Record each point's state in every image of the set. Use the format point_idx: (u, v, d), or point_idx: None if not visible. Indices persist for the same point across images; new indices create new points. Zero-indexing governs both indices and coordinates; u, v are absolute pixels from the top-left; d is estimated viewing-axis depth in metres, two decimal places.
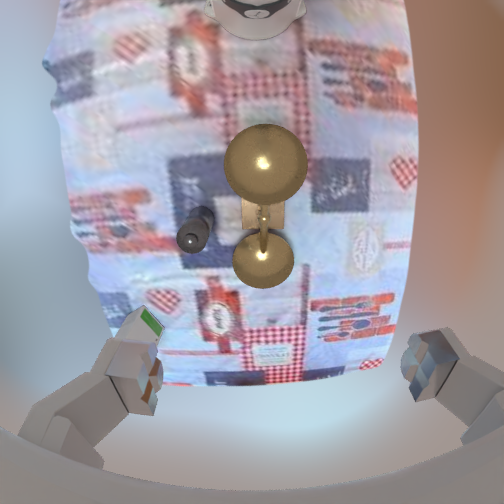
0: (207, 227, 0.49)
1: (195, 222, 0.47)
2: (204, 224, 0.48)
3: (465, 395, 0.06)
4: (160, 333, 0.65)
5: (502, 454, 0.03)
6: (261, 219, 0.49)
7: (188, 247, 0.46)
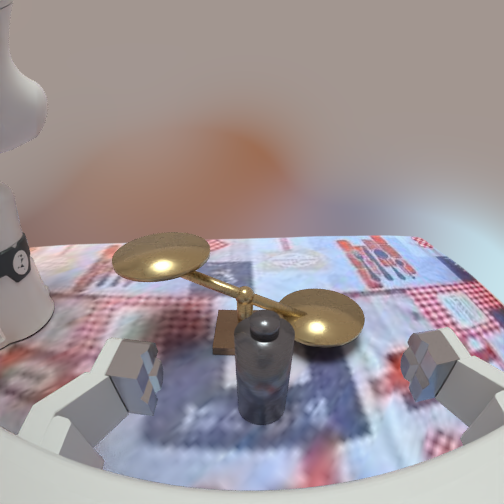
0: None
1: None
2: None
3: (465, 395, 0.06)
4: None
5: (502, 454, 0.03)
6: (243, 290, 0.35)
7: (275, 320, 0.22)
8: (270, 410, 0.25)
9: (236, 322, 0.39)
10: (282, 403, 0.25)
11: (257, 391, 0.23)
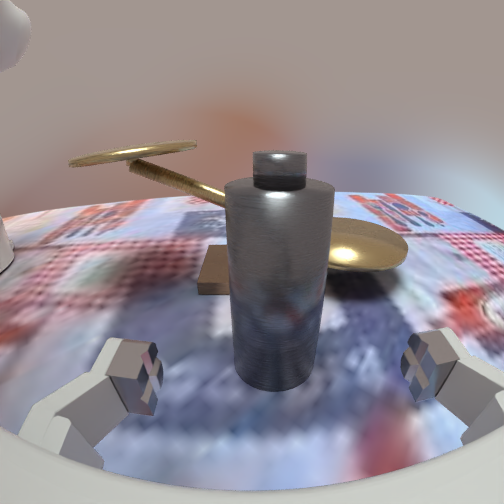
0: None
1: None
2: None
3: (465, 395, 0.06)
4: None
5: (502, 454, 0.03)
6: None
7: (298, 153, 0.12)
8: (293, 357, 0.14)
9: None
10: (312, 346, 0.15)
11: (269, 307, 0.13)
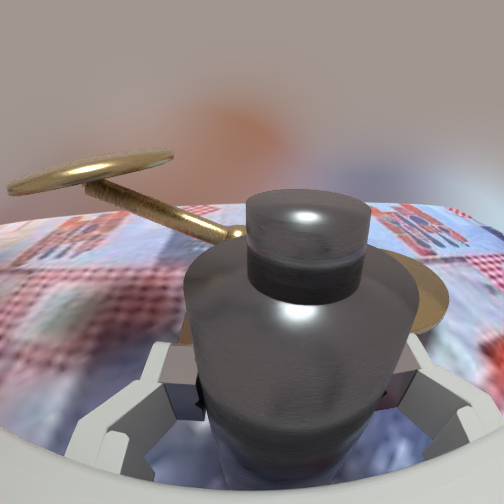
0: None
1: None
2: None
3: (428, 407, 0.06)
4: None
5: (502, 454, 0.03)
6: (235, 230, 0.18)
7: (351, 206, 0.05)
8: None
9: None
10: (333, 476, 0.08)
11: (274, 475, 0.06)
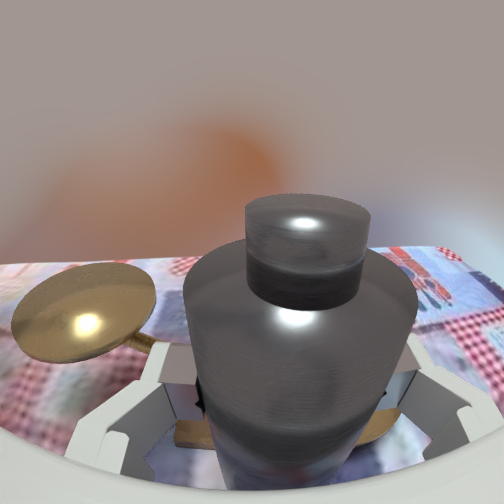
0: None
1: None
2: None
3: (428, 407, 0.06)
4: None
5: (502, 454, 0.03)
6: None
7: (350, 212, 0.05)
8: None
9: None
10: (332, 478, 0.08)
11: (273, 477, 0.06)
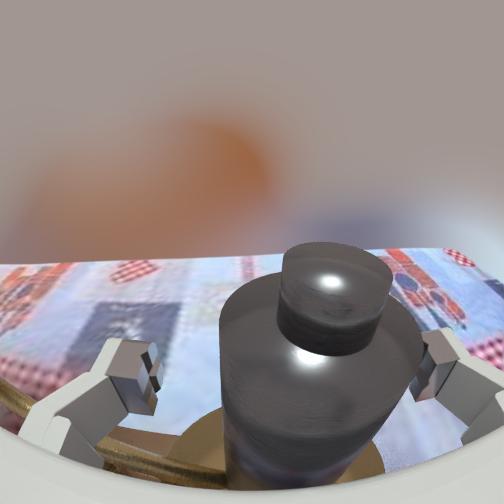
0: None
1: None
2: None
3: (465, 395, 0.06)
4: None
5: (502, 454, 0.03)
6: None
7: (375, 270, 0.06)
8: None
9: None
10: None
11: (283, 487, 0.06)
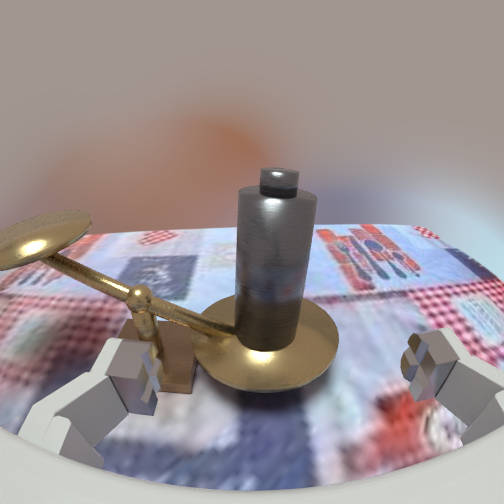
0: None
1: None
2: None
3: (465, 395, 0.06)
4: None
5: (502, 454, 0.03)
6: (133, 291, 0.21)
7: (292, 172, 0.17)
8: (280, 322, 0.20)
9: None
10: (296, 315, 0.20)
11: (265, 280, 0.18)
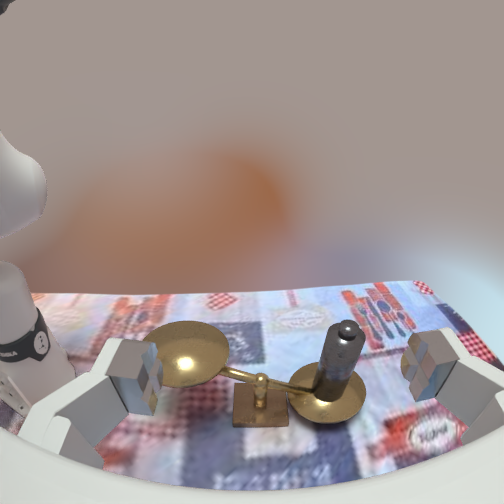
0: None
1: None
2: None
3: (465, 395, 0.06)
4: None
5: (502, 454, 0.03)
6: (259, 378, 0.36)
7: (356, 326, 0.33)
8: (340, 389, 0.35)
9: (251, 396, 0.41)
10: None
11: (337, 375, 0.34)
